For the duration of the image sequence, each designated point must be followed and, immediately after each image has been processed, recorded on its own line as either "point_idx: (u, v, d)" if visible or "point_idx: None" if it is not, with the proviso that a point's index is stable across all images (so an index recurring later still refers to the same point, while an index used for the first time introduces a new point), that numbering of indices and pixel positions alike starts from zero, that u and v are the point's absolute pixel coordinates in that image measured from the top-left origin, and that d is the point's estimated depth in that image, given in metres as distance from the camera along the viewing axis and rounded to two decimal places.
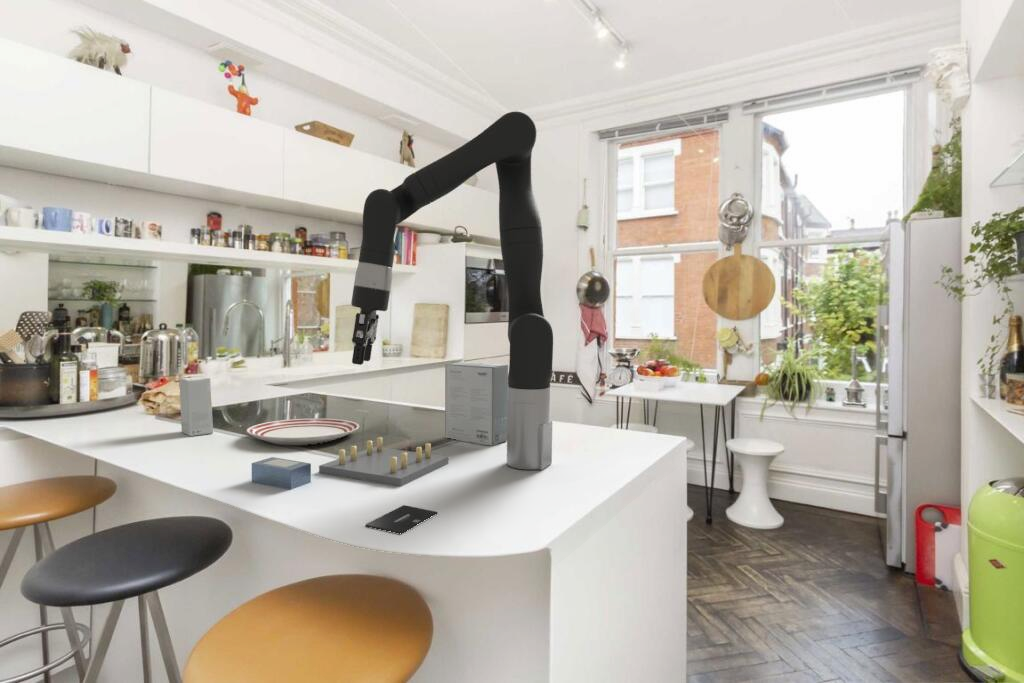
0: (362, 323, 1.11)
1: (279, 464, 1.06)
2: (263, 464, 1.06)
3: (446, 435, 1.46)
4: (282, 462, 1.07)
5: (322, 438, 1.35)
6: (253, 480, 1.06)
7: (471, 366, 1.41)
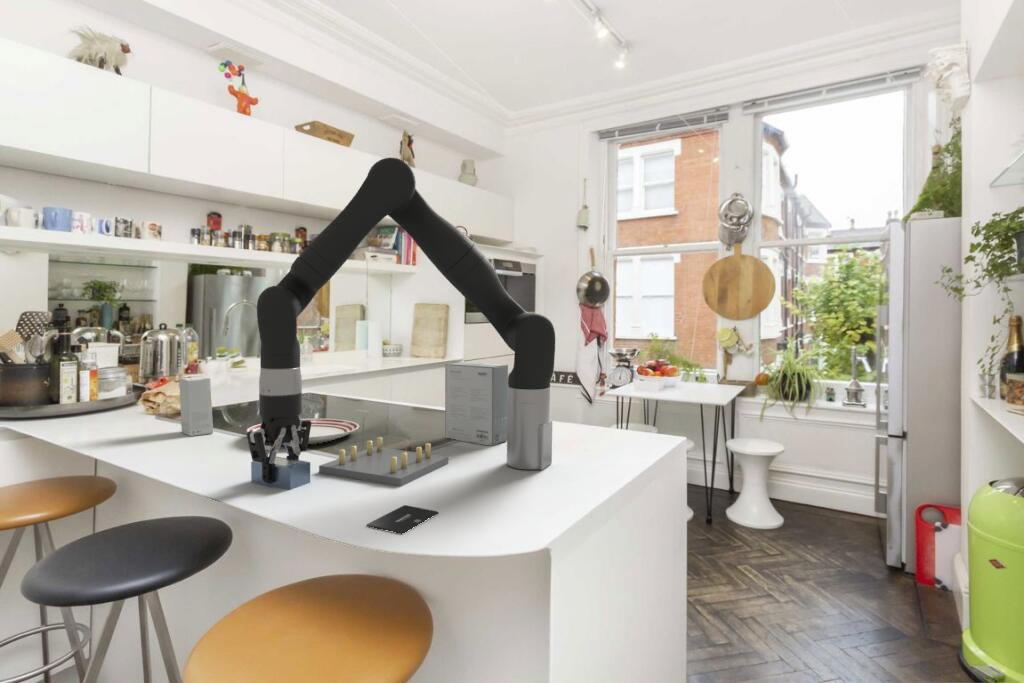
0: (254, 442, 1.01)
1: (278, 463, 1.06)
2: None
3: (446, 435, 1.46)
4: (282, 461, 1.07)
5: (322, 438, 1.35)
6: (253, 479, 1.06)
7: (471, 366, 1.41)
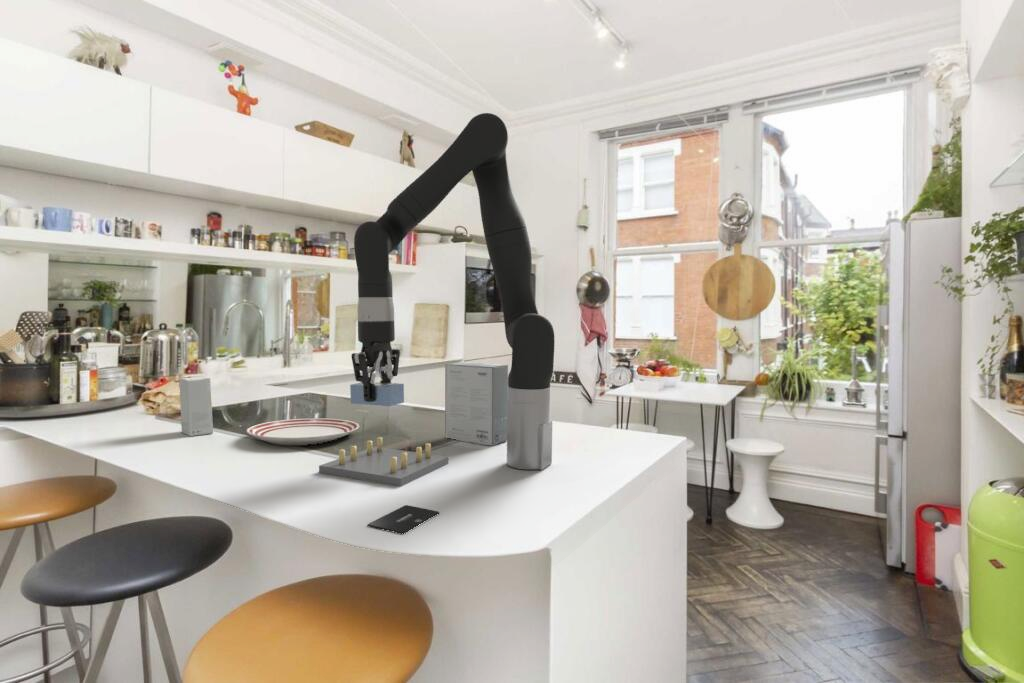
0: (358, 363, 1.11)
1: (376, 384, 1.16)
2: (361, 385, 1.16)
3: (446, 435, 1.46)
4: (377, 383, 1.18)
5: (322, 438, 1.35)
6: (352, 400, 1.17)
7: (471, 366, 1.41)
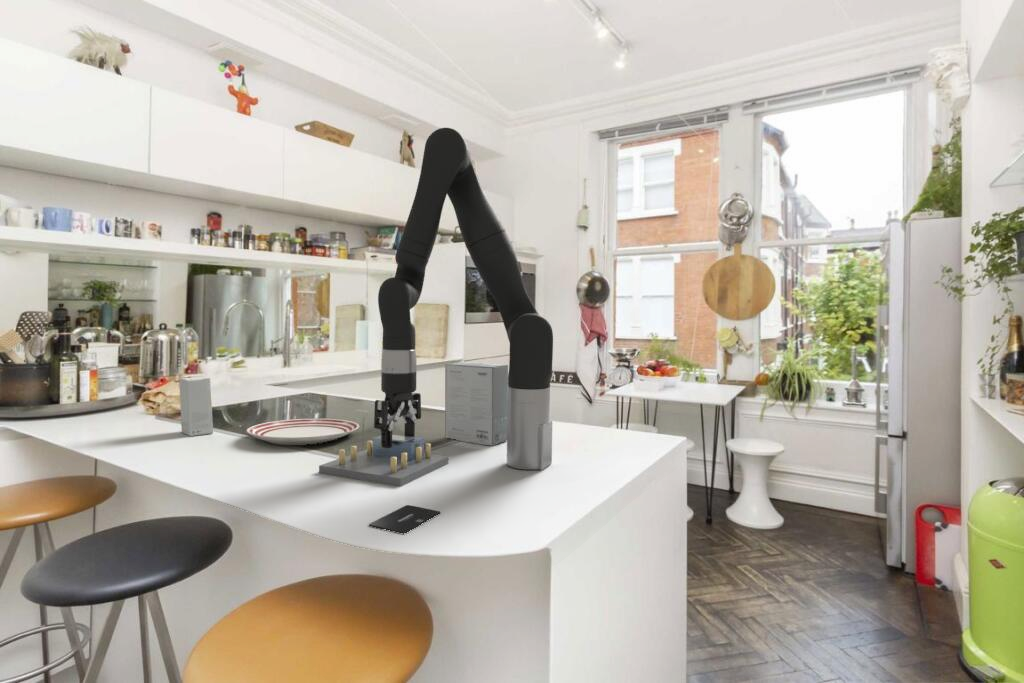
0: (380, 409, 1.15)
1: (398, 438, 1.21)
2: None
3: (446, 435, 1.46)
4: (399, 437, 1.22)
5: (322, 438, 1.35)
6: (374, 453, 1.21)
7: (471, 366, 1.41)
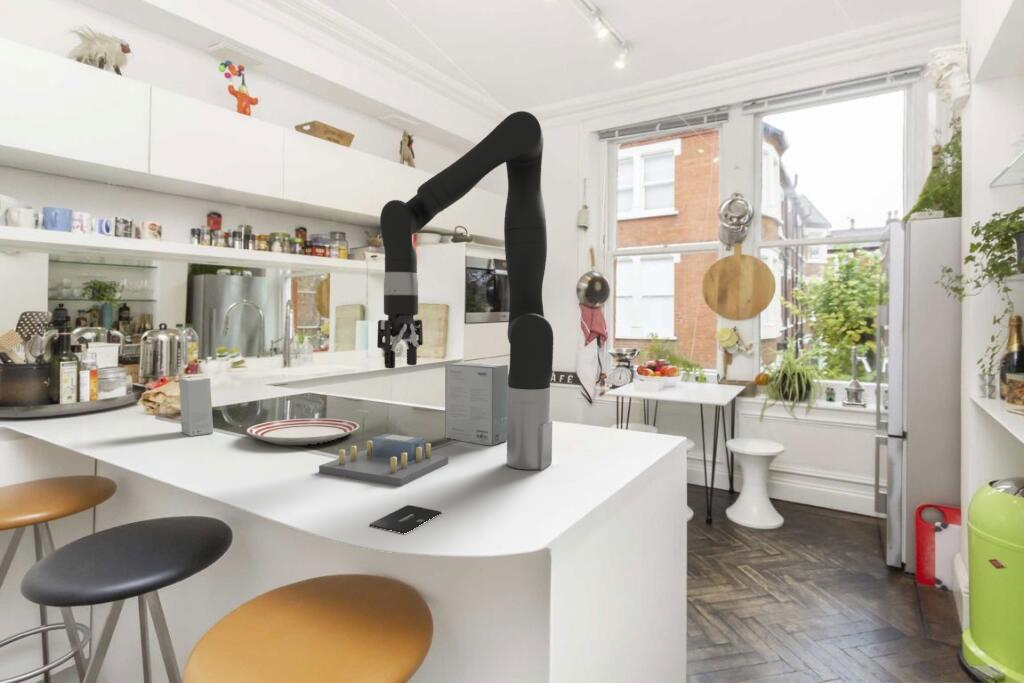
0: (383, 329, 1.17)
1: (398, 438, 1.21)
2: (383, 438, 1.21)
3: (446, 435, 1.46)
4: (399, 437, 1.22)
5: (322, 438, 1.35)
6: (374, 453, 1.21)
7: (471, 366, 1.41)
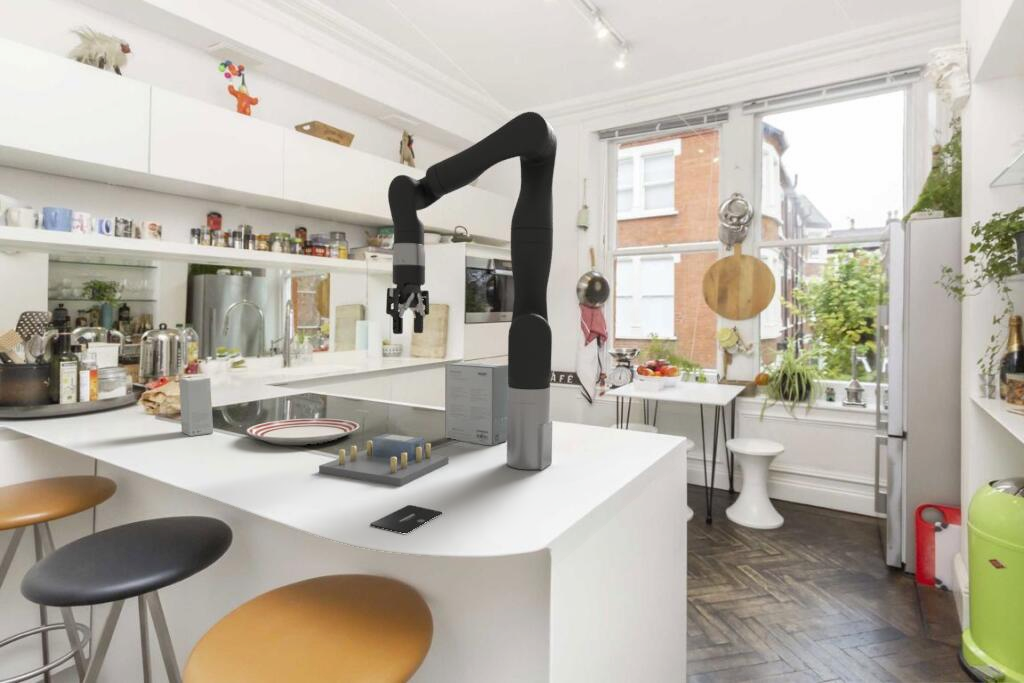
0: (392, 296, 1.24)
1: (398, 438, 1.21)
2: (383, 438, 1.21)
3: (446, 435, 1.46)
4: (399, 437, 1.22)
5: (322, 438, 1.35)
6: (374, 453, 1.21)
7: (471, 366, 1.41)
